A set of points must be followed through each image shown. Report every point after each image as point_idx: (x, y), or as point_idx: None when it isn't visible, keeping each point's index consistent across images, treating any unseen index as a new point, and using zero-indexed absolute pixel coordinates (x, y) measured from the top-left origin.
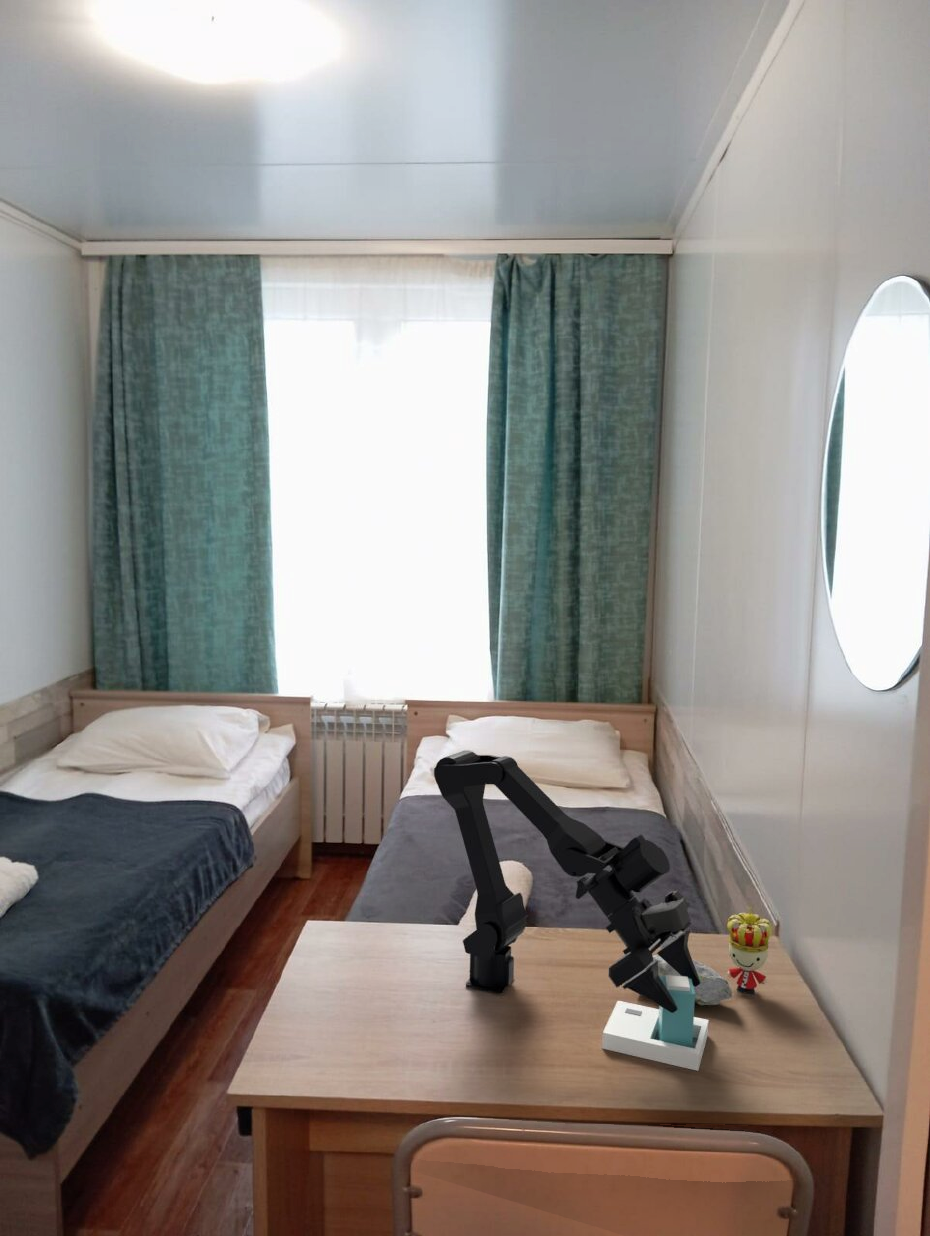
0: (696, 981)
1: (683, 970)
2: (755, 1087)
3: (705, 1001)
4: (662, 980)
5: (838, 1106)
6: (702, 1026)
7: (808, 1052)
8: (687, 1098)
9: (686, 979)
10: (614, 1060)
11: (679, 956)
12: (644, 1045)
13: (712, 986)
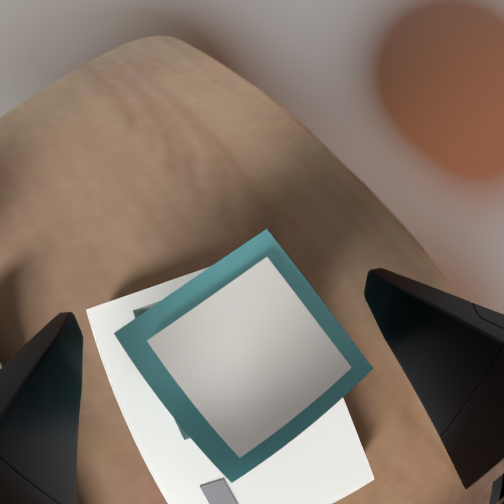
0: (70, 329)
1: (62, 414)
2: (230, 145)
3: (1, 367)
4: (270, 449)
5: (185, 53)
6: (131, 307)
7: (48, 130)
8: (367, 228)
9: (186, 327)
10: (374, 418)
11: (27, 466)
12: None
13: None
